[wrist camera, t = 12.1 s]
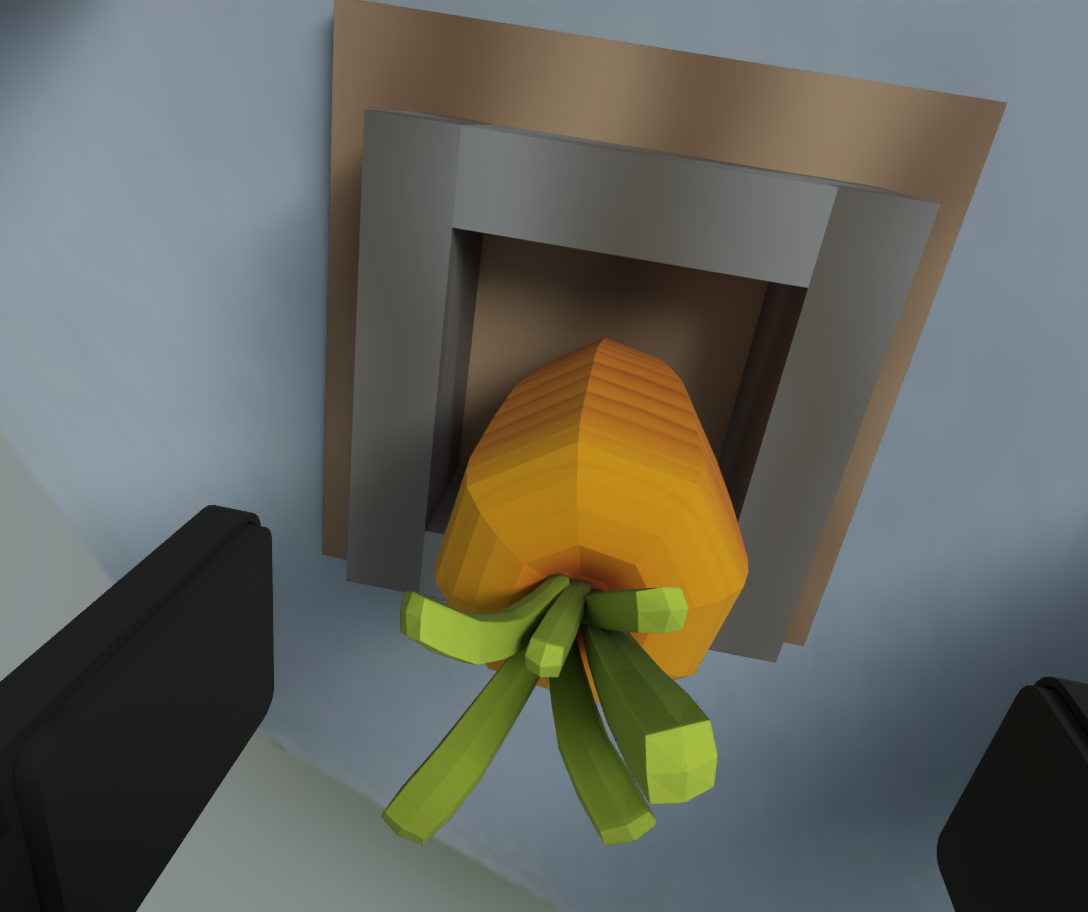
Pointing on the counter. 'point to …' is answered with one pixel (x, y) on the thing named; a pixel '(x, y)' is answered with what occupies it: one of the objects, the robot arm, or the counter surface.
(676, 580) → the carrot
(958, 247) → the counter surface
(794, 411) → the docking stand
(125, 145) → the counter surface
